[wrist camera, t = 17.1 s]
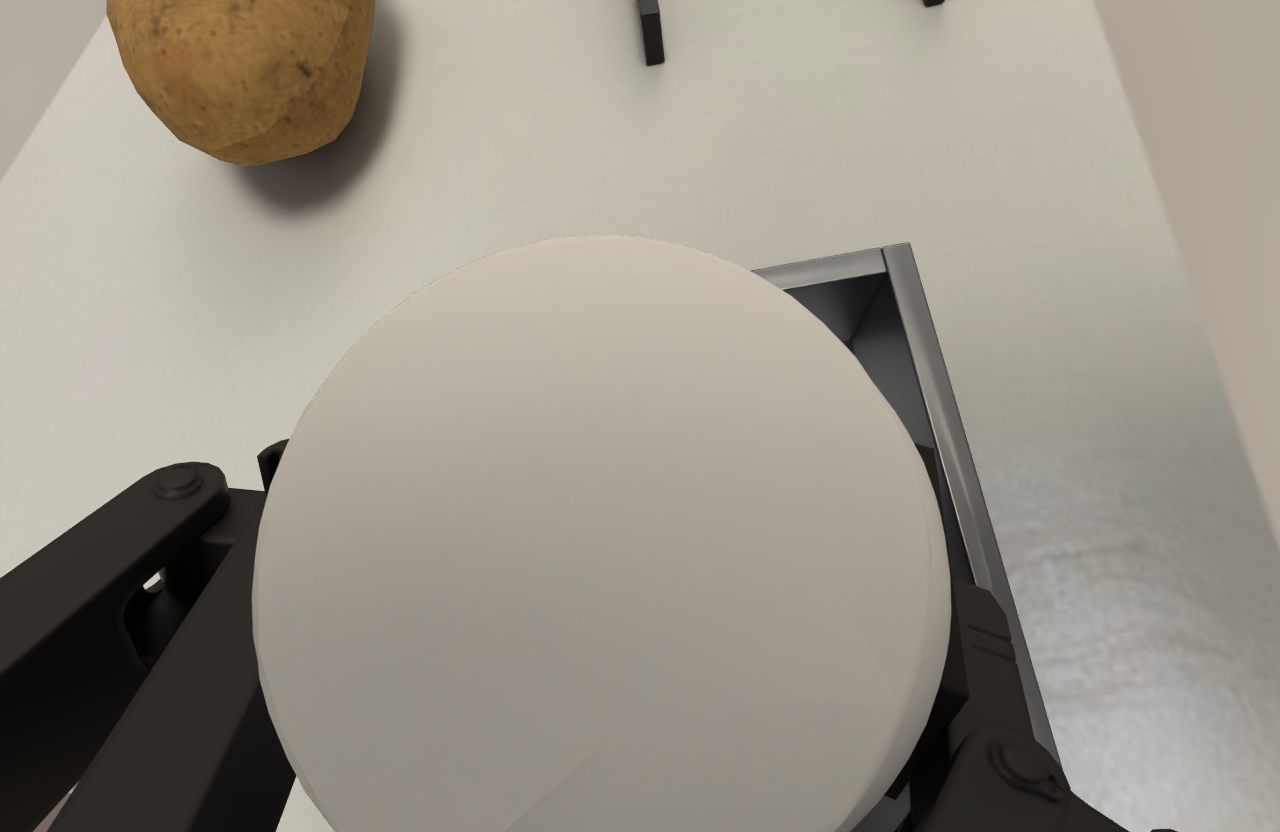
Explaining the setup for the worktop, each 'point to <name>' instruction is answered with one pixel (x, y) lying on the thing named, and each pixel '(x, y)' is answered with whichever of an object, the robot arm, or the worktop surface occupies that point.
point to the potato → (246, 70)
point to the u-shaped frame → (653, 32)
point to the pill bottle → (599, 559)
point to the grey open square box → (914, 426)
